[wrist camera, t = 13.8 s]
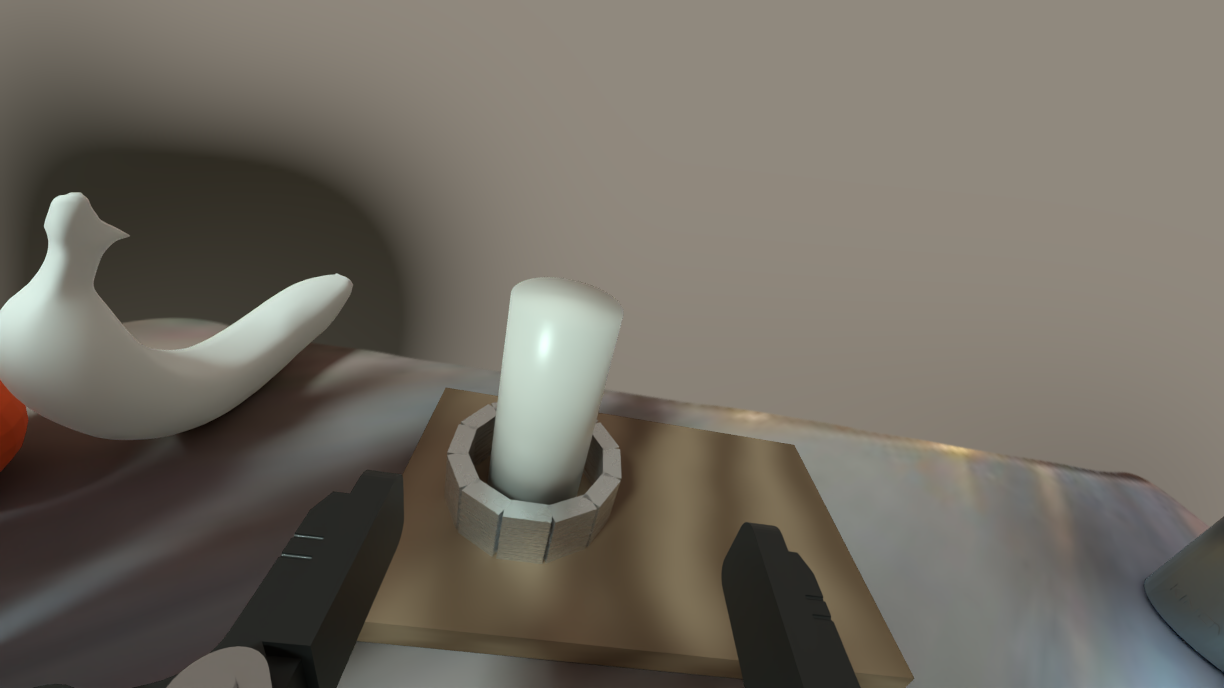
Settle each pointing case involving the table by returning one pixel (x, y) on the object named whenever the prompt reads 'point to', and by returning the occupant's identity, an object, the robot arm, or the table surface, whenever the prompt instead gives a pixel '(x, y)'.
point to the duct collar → (520, 523)
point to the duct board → (623, 560)
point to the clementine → (11, 425)
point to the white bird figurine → (124, 368)
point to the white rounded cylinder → (551, 387)
